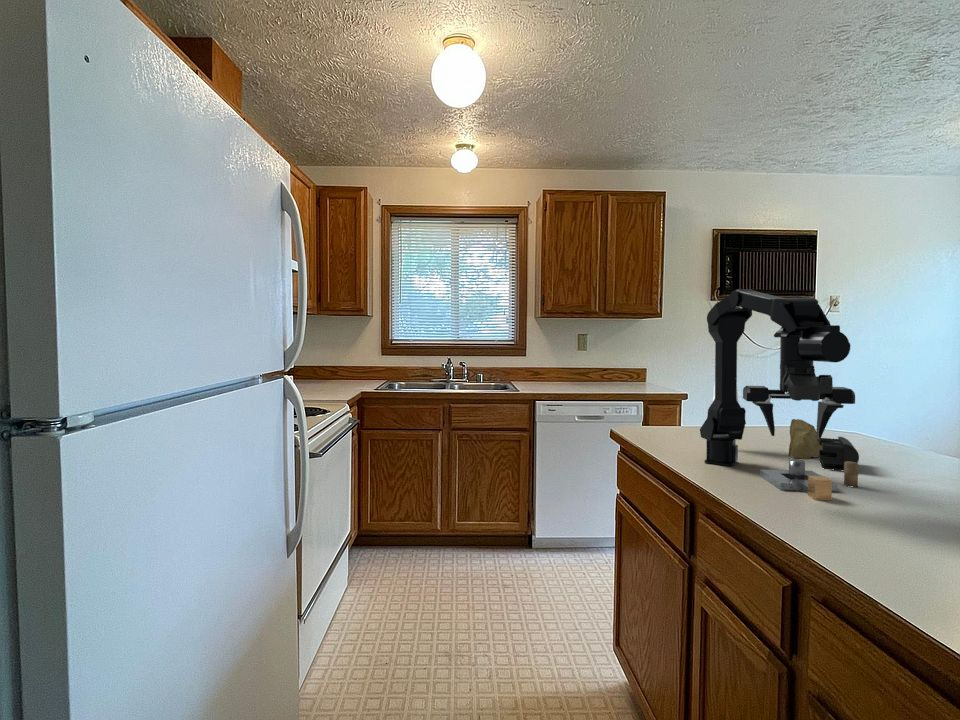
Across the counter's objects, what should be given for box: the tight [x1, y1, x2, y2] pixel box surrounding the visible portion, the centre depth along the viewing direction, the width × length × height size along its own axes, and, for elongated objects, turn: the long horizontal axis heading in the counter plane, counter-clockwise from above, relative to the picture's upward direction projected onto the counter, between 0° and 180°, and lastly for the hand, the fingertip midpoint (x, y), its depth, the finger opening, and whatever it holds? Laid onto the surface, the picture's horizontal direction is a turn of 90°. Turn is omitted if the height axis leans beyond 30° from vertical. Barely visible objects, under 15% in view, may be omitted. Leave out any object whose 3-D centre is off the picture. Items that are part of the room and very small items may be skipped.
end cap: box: [818, 436, 860, 471], centre depth 126 cm, size 10×7×7 cm
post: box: [788, 458, 806, 480], centre depth 113 cm, size 3×3×5 cm
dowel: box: [843, 461, 859, 488], centre depth 111 cm, size 2×2×5 cm
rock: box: [788, 418, 823, 459], centre depth 137 cm, size 11×9×10 cm
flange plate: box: [759, 469, 838, 501], centre depth 110 cm, size 17×11×4 cm, turn 171°
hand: (795, 436), depth 104 cm, fingers open, 8 cm apart
